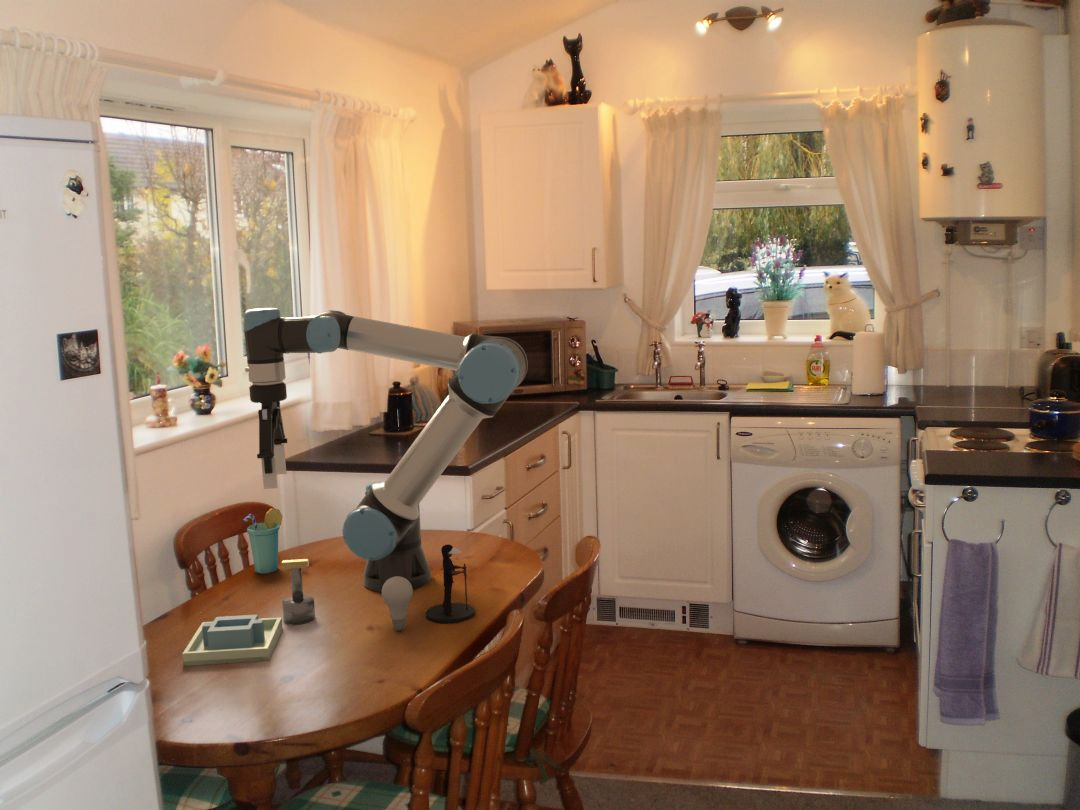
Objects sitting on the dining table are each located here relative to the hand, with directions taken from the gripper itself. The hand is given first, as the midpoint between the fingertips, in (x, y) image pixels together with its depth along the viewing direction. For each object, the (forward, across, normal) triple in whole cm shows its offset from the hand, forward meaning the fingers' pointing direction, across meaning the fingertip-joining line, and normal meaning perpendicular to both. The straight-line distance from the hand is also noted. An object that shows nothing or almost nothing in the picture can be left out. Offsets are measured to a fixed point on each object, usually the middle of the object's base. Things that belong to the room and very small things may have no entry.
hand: (275, 481), depth 234 cm
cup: (+27, -23, -8) cm, 36 cm away
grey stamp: (+27, +13, +4) cm, 30 cm away
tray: (+27, +26, -6) cm, 38 cm away
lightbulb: (+27, +23, +25) cm, 44 cm away
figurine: (+27, +16, +36) cm, 47 cm away
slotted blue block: (+26, +26, -6) cm, 37 cm away
